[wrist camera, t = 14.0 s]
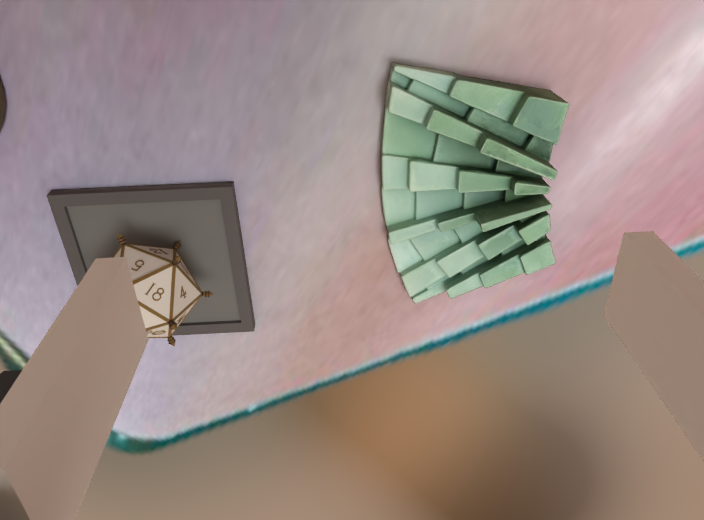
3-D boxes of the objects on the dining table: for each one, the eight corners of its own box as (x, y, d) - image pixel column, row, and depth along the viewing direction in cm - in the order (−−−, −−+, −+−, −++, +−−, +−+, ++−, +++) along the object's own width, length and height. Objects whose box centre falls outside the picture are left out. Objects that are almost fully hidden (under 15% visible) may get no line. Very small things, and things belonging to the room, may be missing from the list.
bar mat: (52, 189, 44) (46, 195, 43) (233, 181, 44) (231, 186, 44) (99, 332, 51) (95, 339, 51) (255, 324, 52) (253, 331, 51)
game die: (192, 237, 50) (251, 300, 44) (134, 313, 51) (185, 386, 45) (107, 193, 43) (165, 261, 37) (40, 282, 43) (87, 364, 38)
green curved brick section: (588, 227, 49) (613, 256, 44) (412, 297, 52) (419, 331, 47) (523, -6, 39) (547, 4, 35) (310, 98, 42) (309, 118, 38)
